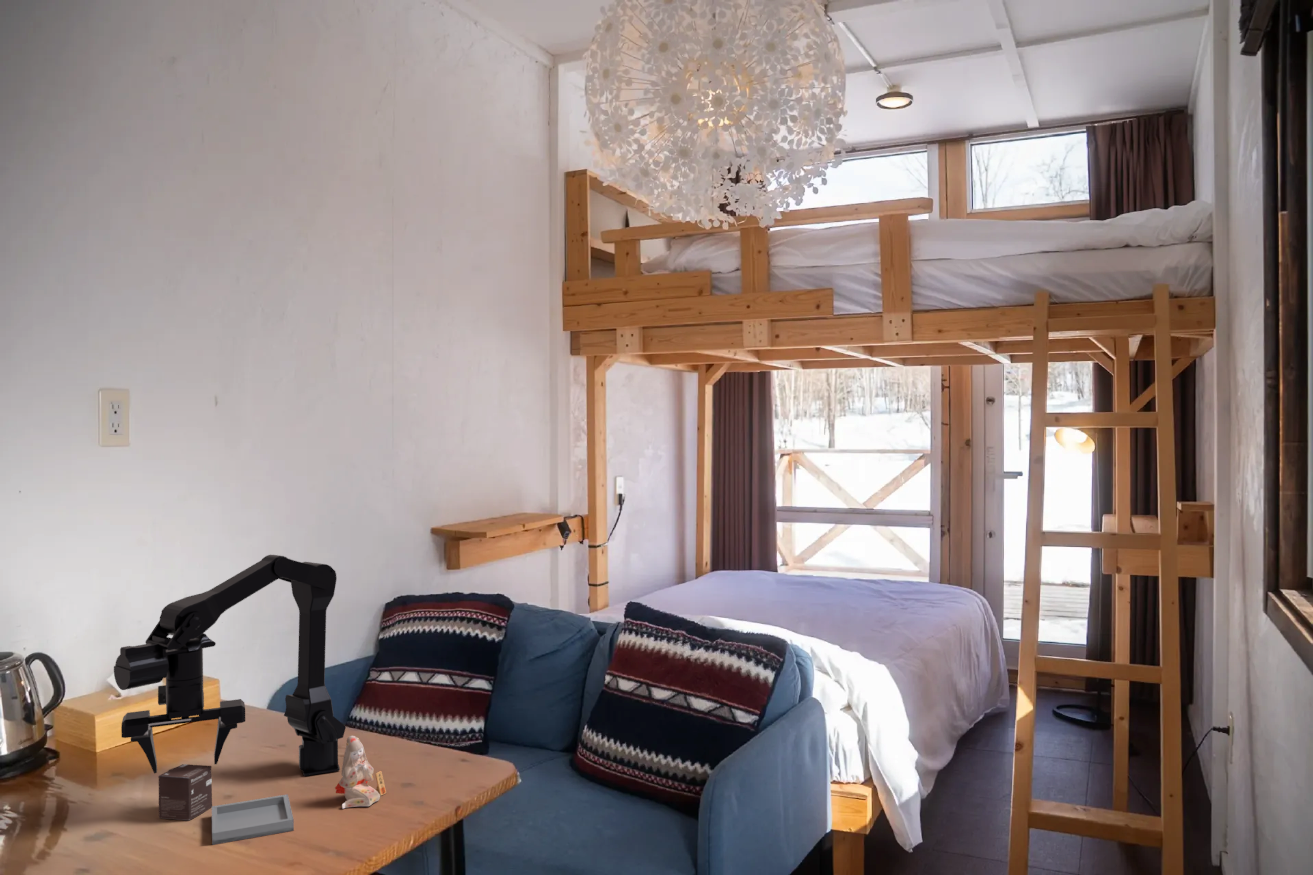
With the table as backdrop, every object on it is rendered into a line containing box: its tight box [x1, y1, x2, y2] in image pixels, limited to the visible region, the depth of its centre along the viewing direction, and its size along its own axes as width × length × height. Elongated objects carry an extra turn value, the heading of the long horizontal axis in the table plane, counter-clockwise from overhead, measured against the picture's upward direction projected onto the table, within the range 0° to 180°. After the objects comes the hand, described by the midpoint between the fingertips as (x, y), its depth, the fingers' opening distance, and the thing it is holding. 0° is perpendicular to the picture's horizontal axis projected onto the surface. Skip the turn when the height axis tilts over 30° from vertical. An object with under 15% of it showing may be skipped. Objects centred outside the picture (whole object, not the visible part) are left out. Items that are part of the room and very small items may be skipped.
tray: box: [211, 793, 295, 846], centre depth 158 cm, size 12×12×2 cm
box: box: [158, 763, 213, 821], centre depth 162 cm, size 6×6×7 cm
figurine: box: [334, 735, 387, 809], centre depth 167 cm, size 9×7×12 cm
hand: (185, 767), depth 162 cm, fingers open, 9 cm apart
